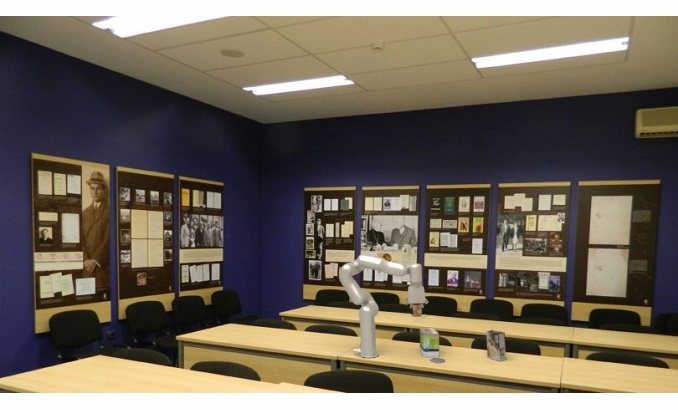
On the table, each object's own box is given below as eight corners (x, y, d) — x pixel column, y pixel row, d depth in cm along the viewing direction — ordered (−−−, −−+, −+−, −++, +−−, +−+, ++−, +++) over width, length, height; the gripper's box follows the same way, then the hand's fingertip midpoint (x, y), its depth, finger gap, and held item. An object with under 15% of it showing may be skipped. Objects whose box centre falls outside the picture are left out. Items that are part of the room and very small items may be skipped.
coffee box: (506, 359, 261) (505, 332, 262) (500, 361, 257) (499, 334, 258) (493, 356, 268) (492, 329, 269) (486, 358, 264) (485, 331, 265)
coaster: (431, 363, 256) (431, 362, 256) (428, 358, 265) (428, 358, 265) (447, 363, 257) (447, 362, 257) (443, 358, 266) (443, 357, 266)
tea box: (440, 357, 268) (439, 332, 269) (423, 357, 268) (422, 333, 269) (435, 350, 283) (434, 327, 284) (419, 350, 283) (418, 327, 284)
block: (413, 316, 262) (412, 305, 263) (411, 315, 267) (411, 303, 268) (421, 316, 262) (421, 304, 263) (420, 314, 267) (419, 303, 268)
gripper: (402, 285, 262) (403, 315, 261) (431, 284, 262) (432, 315, 261) (400, 283, 270) (401, 313, 269) (428, 283, 270) (429, 312, 269)
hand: (416, 314), depth 265 cm, fingers closed on block, 5 cm apart
